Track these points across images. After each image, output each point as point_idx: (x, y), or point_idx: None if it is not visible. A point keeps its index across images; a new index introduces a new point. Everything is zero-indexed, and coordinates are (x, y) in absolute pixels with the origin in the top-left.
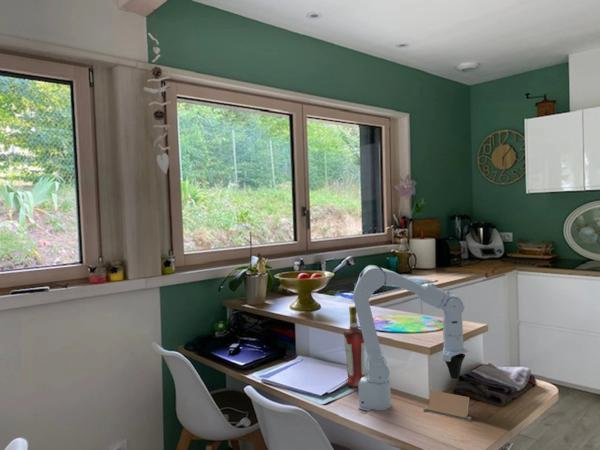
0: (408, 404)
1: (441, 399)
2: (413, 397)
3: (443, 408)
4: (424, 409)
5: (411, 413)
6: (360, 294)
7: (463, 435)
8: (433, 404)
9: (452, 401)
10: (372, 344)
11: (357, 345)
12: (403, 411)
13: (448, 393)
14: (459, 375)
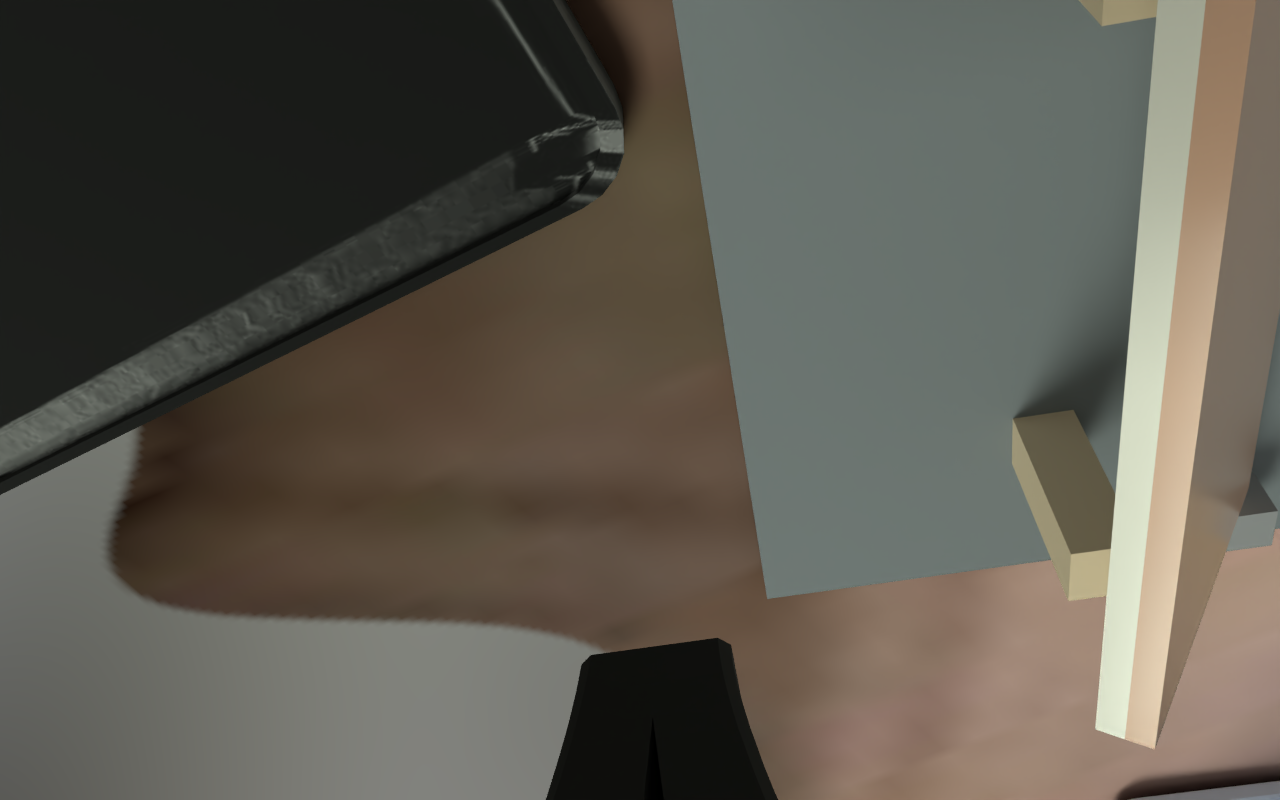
0: (986, 731)
1: (1218, 466)
2: None
3: (1268, 308)
4: (1268, 525)
5: (1271, 595)
6: None
7: None
8: (1233, 494)
9: (1254, 258)
10: None
11: None
12: (1247, 681)
13: (1189, 462)
14: (597, 709)
